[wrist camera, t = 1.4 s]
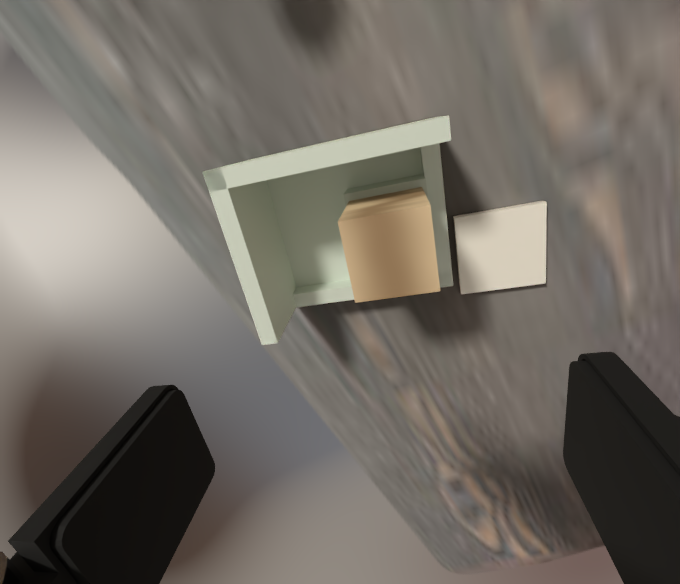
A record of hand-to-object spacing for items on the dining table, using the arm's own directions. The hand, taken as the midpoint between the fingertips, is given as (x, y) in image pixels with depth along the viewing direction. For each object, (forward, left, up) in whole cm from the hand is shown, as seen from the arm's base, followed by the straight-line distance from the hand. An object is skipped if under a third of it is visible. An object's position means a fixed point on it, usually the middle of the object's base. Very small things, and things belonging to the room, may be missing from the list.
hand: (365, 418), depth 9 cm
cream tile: (-8, +4, -22) cm, 24 cm away
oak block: (0, 0, -19) cm, 19 cm away
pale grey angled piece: (+3, 0, -22) cm, 22 cm away
